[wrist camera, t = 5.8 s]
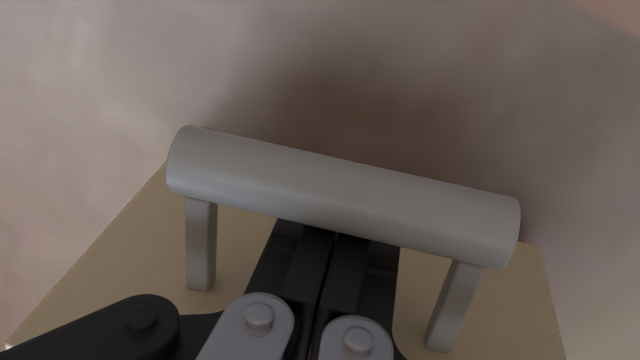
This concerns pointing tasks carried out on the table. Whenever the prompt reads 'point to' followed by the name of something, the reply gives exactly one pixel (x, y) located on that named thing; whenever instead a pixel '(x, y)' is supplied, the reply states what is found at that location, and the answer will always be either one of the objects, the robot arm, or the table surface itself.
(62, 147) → the table surface
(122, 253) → the drawer
